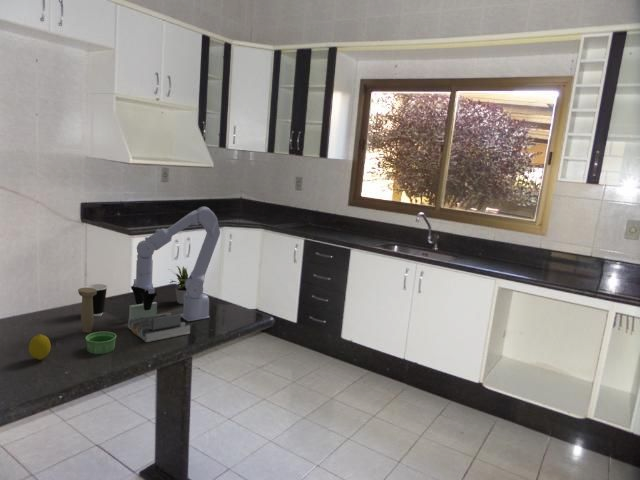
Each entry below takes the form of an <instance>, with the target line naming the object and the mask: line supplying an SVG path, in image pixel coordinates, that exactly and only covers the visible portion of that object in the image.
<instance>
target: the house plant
mask: <svg viewBox="0 0 640 480" xmlns="http://www.w3.org/2000/svg"><path fill="white" fill-rule="evenodd" d="M176 268H177V270H178V272H179V274H178V273H176V272H175V271H174V270H172V269H170V268H168V270H170V271H171V272H172V273H173V274H175V276H176V277H177V278H176V279H177V281H176V280H173V279H171V281H170V282H169V284H171V283H177V286H176V287H175V295H176V302H177V304H180V305H184V294H185V293H186V288H185V281H186V280H187V279H188V278H189V274H188V270H187V269H188V268H187V267H185V266H184V265H183V266H182V269H181V268H180V267H179V266H178V265H176Z"/></svg>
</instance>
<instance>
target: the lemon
mask: <svg viewBox="0 0 640 480" xmlns="http://www.w3.org/2000/svg"><path fill="white" fill-rule="evenodd" d="M51 347H52V346H51V341H50V339H49V337H47V336H46V335H44V334H41V333H38V334H37V335H35V336H33V337H32V339H31V340H30V342H29V344H28V352H29V354H30V356H31V357H32V358H34V359H37V360H38V361H42V360H43V358H46V357H47V356H48V355H49V354H50V352H51Z"/></svg>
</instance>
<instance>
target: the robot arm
mask: <svg viewBox="0 0 640 480" xmlns="http://www.w3.org/2000/svg"><path fill="white" fill-rule="evenodd" d="M199 224H200V225H201V226H202V227H203V228H204V230H205V232H206V233H205V237H204V239H203V242H202V245H201V248H200V251H199V253H198V256H197V258H196V261H195V265H194V266H193V269H192V271H191V272H190V275H188V279H187V280H186V281H185V288H186V293H185V294H184V304H183V311H182V312H183V313H181V314H180V313H179V314H180V315H181V318H182V319H183V320H184V321H187V322H193V321H199V320H204V319H209V318H210V298H209V296H208V294H205V293H204V283H205V278H206V273H207V270H208V268H209V265H210V262H211V260H212V257H213V254H214V252H215V248H216V246H217V244H218V240H219V238H220V234H221V229H220V225H219V222H218V217H217V215H216V214H215V212H214V211H213V210H211V209H210V208H209V207H208V206H200V207H198V208H197V209H195V210H192V211H191V212H189V213H187V214H186V215H184V216H183V217H182V218H181V219H179V220H178V221H177V222H175V223H174V224H172V225H171V226H169V227H168V228H157V229H156V230H155V232H154V233H152V234H151V235H150V236H146V237H144V239H143V240H140V241H139V242H138V244H137V245H136V252H137V255H136V265H135V266H136V269H135V270H136V271H135V279H133V284H132V285H131V286H130V289H131V290H132V293H133V296H134V301H135V305H138V304H143V305H144V310H150V309H151V306H152V303H153V302H154V299H155V298H156V296H157V295H158V292H157V291H155V287H154V283H153V268H154V267H153V266H154V265H153V264H154V262H153V261H154V260H153V255H154V252H155V251H157V250H160V249H161V248H162V247H164V246H165V245H167V244H169V243H170V242H172V238H173V236H175V235H176V234H178V233H180V232H181V231H182V230H185V229H186V228H187V227H190V226H199Z"/></svg>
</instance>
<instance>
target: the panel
mask: <svg viewBox="0 0 640 480" xmlns="http://www.w3.org/2000/svg"><path fill="white" fill-rule="evenodd" d="M128 310H129V313H128V314H129V315H128V316H129V317H128V319H135V318H141V317H147V316H153V315H158V302H156V301H153V303H152V306H151V309H150V310H144V305H143V303H142V304H138V305H137V304H131V305H129V309H128Z"/></svg>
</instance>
